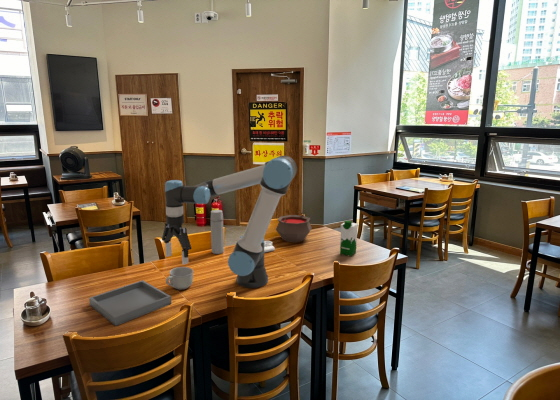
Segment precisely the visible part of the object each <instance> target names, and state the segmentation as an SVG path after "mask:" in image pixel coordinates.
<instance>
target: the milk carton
mask: <svg viewBox="0 0 560 400" xmlns="http://www.w3.org/2000/svg"><path fill="white" fill-rule="evenodd" d="M358 226H359V224H358V223H357V222H356V223H355V222H352V220H344V222H343V223H341V224H340V245H339V249H340V250H339V252H340V253H339V254H340V255H342V254H343V256H347V255H349V256H348V257H352V256H354V255H355V254H356V253H357V243H358V242H357V241H358V240H357V239H358V238H357V237H358ZM354 253H355V254H354ZM353 254H354V255H353Z"/></svg>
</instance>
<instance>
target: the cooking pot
mask: <svg viewBox="0 0 560 400" xmlns="http://www.w3.org/2000/svg"><path fill="white" fill-rule="evenodd" d="M310 220H311V217H308V216H306V215H305V213H304V212H303V211H302V212H301V213H300V215H299V214H298V215H297V214H287V215H283V216H279V217H278V218H277V221H278V224H277V226H276V227H275V228H276V229H275V231H276V232H277V233H278V234H279V236H280V237H281V239H282V240H283V241H285V242H286V243H295V242H296V243H300V241H301V242H303V241H305V239H306V237H307V236H308V235H309V233H310V232H311V231H312V226H311V223H310Z"/></svg>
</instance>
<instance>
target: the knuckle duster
mask: <svg viewBox="0 0 560 400" xmlns="http://www.w3.org/2000/svg"><path fill="white" fill-rule="evenodd" d="M264 242H265V244H264V253H268V252H274V251H275V249H276V248H275V246H273V241H271V240H264Z"/></svg>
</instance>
